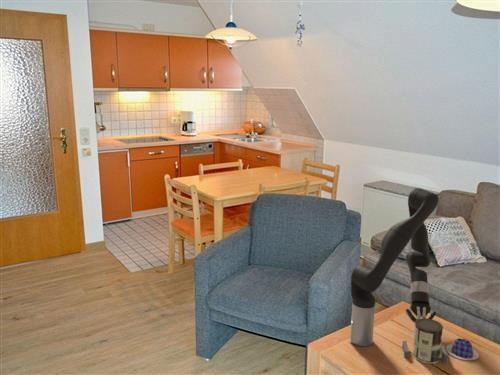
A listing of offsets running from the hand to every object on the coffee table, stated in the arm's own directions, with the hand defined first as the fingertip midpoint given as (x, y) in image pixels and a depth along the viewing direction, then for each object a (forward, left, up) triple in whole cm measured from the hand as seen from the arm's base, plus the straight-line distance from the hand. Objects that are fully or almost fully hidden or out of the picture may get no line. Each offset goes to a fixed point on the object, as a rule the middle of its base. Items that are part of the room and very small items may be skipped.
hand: (421, 332), depth 187 cm
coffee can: (0, -10, -5) cm, 11 cm away
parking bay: (0, -9, -4) cm, 11 cm away
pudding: (+15, -4, -5) cm, 17 cm away
